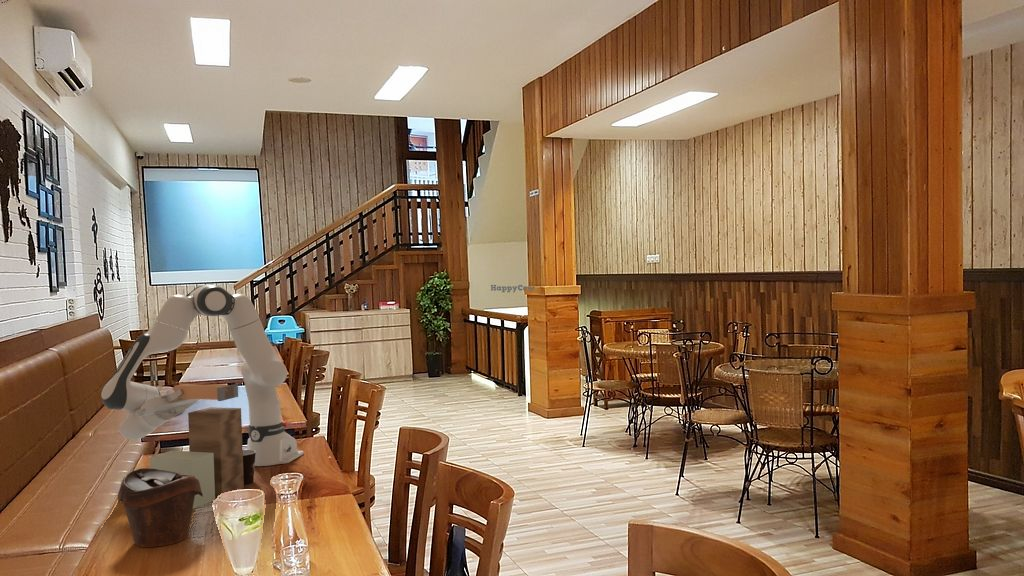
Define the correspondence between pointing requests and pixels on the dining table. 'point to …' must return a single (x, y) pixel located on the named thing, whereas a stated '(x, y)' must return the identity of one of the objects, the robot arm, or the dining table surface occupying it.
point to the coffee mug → (248, 466)
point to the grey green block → (190, 470)
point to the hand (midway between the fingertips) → (188, 389)
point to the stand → (219, 444)
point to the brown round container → (158, 505)
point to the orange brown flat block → (208, 391)
